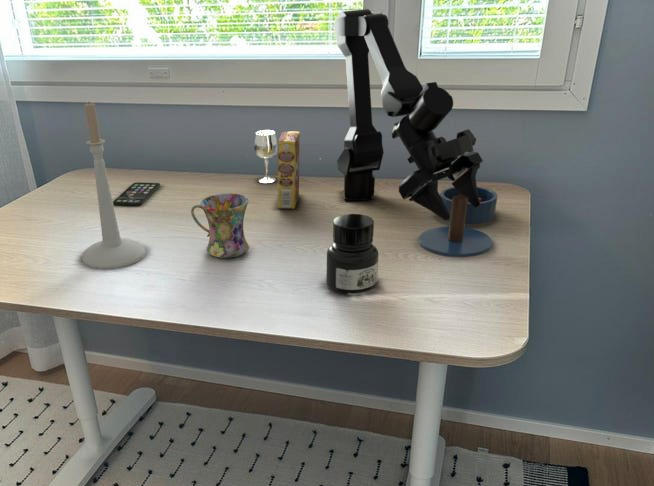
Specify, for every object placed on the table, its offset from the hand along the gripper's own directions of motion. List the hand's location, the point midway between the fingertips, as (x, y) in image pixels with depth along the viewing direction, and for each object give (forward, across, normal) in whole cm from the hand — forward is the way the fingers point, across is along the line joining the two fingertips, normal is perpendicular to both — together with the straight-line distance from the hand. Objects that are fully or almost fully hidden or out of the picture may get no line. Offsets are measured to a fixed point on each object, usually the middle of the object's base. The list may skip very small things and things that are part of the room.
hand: (463, 212), depth 130 cm
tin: (-1, +14, +11) cm, 18 cm away
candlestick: (-28, -51, +38) cm, 69 cm away
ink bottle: (+3, -27, +7) cm, 28 cm away
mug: (-17, -34, +28) cm, 47 cm away
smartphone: (-48, -28, +58) cm, 81 cm away
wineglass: (-38, +2, +47) cm, 60 cm away
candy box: (-26, -6, +36) cm, 44 cm away
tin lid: (+4, 0, +5) cm, 6 cm away
